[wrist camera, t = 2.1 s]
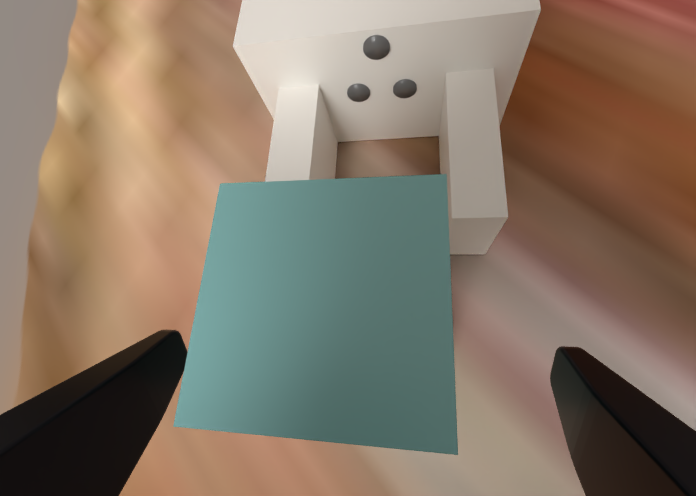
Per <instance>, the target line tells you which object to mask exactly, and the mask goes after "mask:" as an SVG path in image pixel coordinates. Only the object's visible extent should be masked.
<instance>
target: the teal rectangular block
mask: <svg viewBox="0 0 696 496" xmlns="http://www.w3.org/2000/svg"><path fill="white" fill-rule="evenodd" d="M174 427H184V428H194V429H204V430H214V431H224V432H234V433H244V434H254V435H264V436H274V437H284V438H294V439H304V440H314V441H324V442H334V443H344V444H354V445H364V446H374V447H384V448H394V449H404V450H414V451H424V452H434V453H444V454H454V455H458V444H457V419H456V394H455V369H454V344H453V318H452V293H451V268H450V243H449V218H448V193H447V174H436V175H412V176H389V177H365V178H341V179H317V180H294V181H270V182H246V183H222V184H220V187H219V192H218V197H217V203H216V208H215V213H214V218H213V223H212V229H211V234H210V239H209V244H208V249H207V254H206V260H205V265H204V270H203V275H202V280H201V286H200V291H199V296H198V301H197V306H196V311H195V317H194V322H193V327H192V332H191V337H190V343H189V348H188V353H187V358H186V363H185V368H184V374H183V379H182V384H181V389H180V394H179V400H178V405H177V410H176V415H175V420H174Z"/></svg>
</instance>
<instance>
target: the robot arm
mask: <svg viewBox="0 0 696 496" xmlns="http://www.w3.org/2000/svg"><path fill="white" fill-rule="evenodd" d="M187 353H188V352H187V349H186V347H185V344H184V342H183V339H182V336H181V334H180V333H179V332H178V331H176V330H160V331H158V332H156V333H155V334H153V335H151V336H149V337H147V338H145V339H143V340H141V341H139V342H137V343H136V344H134V345H132V346H130V347H128V348H126V349H124V350H122V351H120V352H119V353H117V354H115V355H113V356H111V357H109V358H107V359H105V360H103V361H101V362H100V363H98V364H96V365H94V366H92V367H90V368H88V369H86V370H84V371H82V372H81V373H79V374H77V375H75V376H73V377H71V378H69V379H67V380H65V381H64V382H62V383H60V384H58V385H56V386H54V387H52V388H50V389H48V390H46V391H45V392H43V393H41V394H39V395H37V396H35V397H33V398H31V399H29V400H28V401H26V402H24V403H22V404H20V405H18V406H16V407H14V408H12V409H11V410H9V411H7V412H5V413H3V414H1V415H0V496H119V494H120V493H121V491H122V489H123V487H124V486H125V484H126V482H127V480H128V478H129V477H130V475H131V473H132V471H133V470H134V468H135V466H136V464H137V463H138V461H139V459H140V457H141V455H142V454H143V452H144V450H145V448H146V447H147V445H148V443H149V441H150V440H151V438H152V436H153V434H154V432H155V431H156V429H157V427H158V425H159V423H160V421H161V420H162V418H163V416H164V413H165V411H166V409H167V407H168V405H169V403H170V400H171V398H172V396H173V394H174V392H175V389H176V387H177V385H178V383H179V381H180V378H181V376H182V374H183V372H184V368H185V363H186V358H187ZM550 381H551V387H552V390H553V394H554V398H555V401H556V405H557V409H558V412H559V416H560V420H561V423H562V427H563V431H564V434H565V438H566V442H567V445H568V449H569V452H570V455H571V459H572V461H573V464H574V467H575V470H576V472H577V475H578V477H579V480H580V482H581V485H582V488H583V490H584V493H585V495H586V496H696V431H695V430H693V429H692V428H690V427H689V426H688V425H686V424H685V423H684V422H682V421H681V420H679V419H678V418H677V417H675V416H674V415H673V414H671V413H670V412H668V411H667V410H666V409H664V408H663V407H662V406H660V405H659V404H657V403H656V402H655V401H653V400H652V399H651V398H649V397H648V396H646V395H645V394H644V393H642V392H641V391H640V390H638V389H637V388H636V387H634V386H633V385H631V384H630V383H629V382H627V381H626V380H625V379H623V378H622V377H620V376H619V375H618V374H616V373H615V372H614V371H612V370H611V369H609V368H608V367H607V366H605V365H604V364H603V363H601V362H600V361H598V360H597V359H596V358H594V357H593V356H592V355H590V354H589V353H587V352H586V351H585V350H583V349H582V348H579V347H565V346H561V347H559V348H558V349H557V350H556V353H555V357H554V362H553V366H552V370H551V375H550Z"/></svg>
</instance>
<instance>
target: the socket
mask: <svg viewBox="0 0 696 496" xmlns="http://www.w3.org/2000/svg"><path fill="white" fill-rule="evenodd" d="M540 11H541V7H540V1H539V0H242V5H241V10H240V14H239V19H238V24H237V29H236V33H235V38H234V43H233V47H234V49H235V51H236V53H237V55H238V56H239V58H240V60H241V62H242V64H243V65H244V67H245V69H246V71H247V72H248V74H249V76H250V78H251V80H252V81H253V83H254V85H255V87H256V89H257V90H258V92H259V94H260V96H261V97H262V99H263V101H264V103H265V105H266V106H267V108H268V110H269V112H270V114H271V115H272V117H273V119H274V124H273V131H272V137H271V144H270V151H269V158H268V165H267V171H266V178H265V182H270V181H294V180H317V179H335V175H336V161H337V148H338V142H347V141H364V140H380V139H396V138H413V137H429V136H439V157H440V174H447V193H448V218H449V243H450V254H486V252H487V250H488V249H489V247H490V246H491V244H492V243H493V241H494V239H495V238H496V236H497V235H498V233H499V231H500V230H501V228H502V227H503V225H504V223H505V222H506V220H507V219H508V208H507V198H506V188H505V178H504V168H503V158H502V148H501V138H500V128H499V126H500V123H501V121H502V118H503V115H504V112H505V109H506V106H507V104H508V101H509V98H510V95H511V92H512V90H513V87H514V84H515V81H516V78H517V75H518V73H519V70H520V67H521V64H522V61H523V59H524V56H525V53H526V50H527V47H528V44H529V42H530V39H531V36H532V33H533V30H534V28H535V25H536V22H537V19H538V16H539V14H540Z"/></svg>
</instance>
